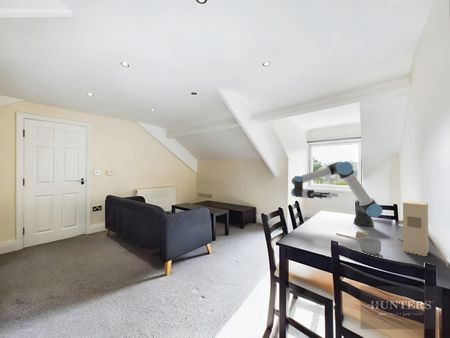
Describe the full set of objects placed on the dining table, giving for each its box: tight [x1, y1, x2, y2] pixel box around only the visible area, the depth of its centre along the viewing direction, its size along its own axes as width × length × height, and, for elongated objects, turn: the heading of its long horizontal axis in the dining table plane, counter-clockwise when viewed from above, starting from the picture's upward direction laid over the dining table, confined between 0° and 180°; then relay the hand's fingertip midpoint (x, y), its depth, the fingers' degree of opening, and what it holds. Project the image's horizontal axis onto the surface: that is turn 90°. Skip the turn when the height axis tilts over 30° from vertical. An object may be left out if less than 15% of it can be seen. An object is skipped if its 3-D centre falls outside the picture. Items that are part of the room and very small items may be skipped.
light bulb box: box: [397, 223, 403, 242], centre depth 139 cm, size 11×7×11 cm, turn 168°
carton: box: [402, 200, 429, 257], centre depth 121 cm, size 12×10×30 cm
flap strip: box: [335, 230, 369, 241], centre depth 147 cm, size 4×22×6 cm, turn 36°
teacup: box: [358, 236, 382, 256], centre depth 121 cm, size 14×11×8 cm
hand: (334, 196), depth 157 cm, fingers open, 13 cm apart
